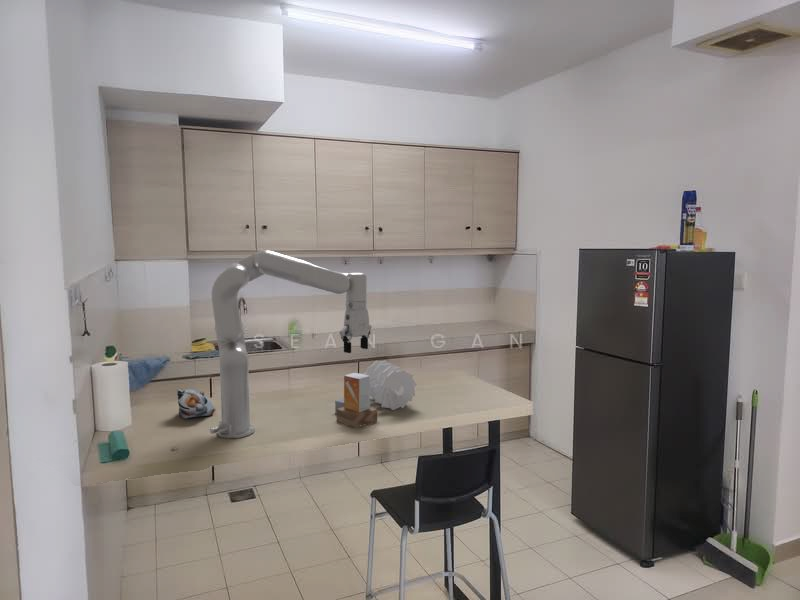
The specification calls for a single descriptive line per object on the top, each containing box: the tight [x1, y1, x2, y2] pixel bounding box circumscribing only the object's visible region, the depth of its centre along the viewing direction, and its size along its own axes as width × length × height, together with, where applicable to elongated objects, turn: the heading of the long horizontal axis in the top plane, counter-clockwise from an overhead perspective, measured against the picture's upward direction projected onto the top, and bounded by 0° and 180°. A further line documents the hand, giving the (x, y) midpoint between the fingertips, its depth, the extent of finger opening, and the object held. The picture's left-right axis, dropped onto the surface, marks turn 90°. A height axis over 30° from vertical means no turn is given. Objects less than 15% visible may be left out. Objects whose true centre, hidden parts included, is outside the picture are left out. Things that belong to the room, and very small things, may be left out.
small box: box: [343, 372, 371, 412], centre depth 207 cm, size 8×6×13 cm
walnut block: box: [336, 406, 378, 428], centre depth 207 cm, size 11×11×5 cm
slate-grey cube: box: [334, 397, 344, 414], centre depth 217 cm, size 5×5×5 cm
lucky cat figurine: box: [176, 388, 217, 420], centre depth 211 cm, size 15×12×14 cm
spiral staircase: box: [363, 360, 417, 411], centre depth 228 cm, size 18×18×25 cm
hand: (355, 350), depth 205 cm, fingers open, 9 cm apart
